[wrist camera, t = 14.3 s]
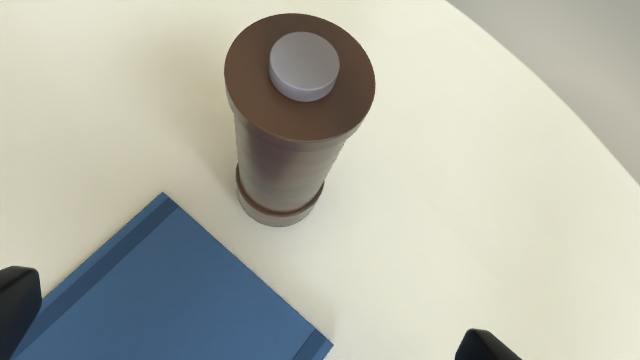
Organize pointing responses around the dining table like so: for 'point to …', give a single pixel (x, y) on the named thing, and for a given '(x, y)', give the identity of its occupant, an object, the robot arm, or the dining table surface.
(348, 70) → the pepper mill
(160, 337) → the napkin
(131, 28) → the dining table surface
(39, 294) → the robot arm
